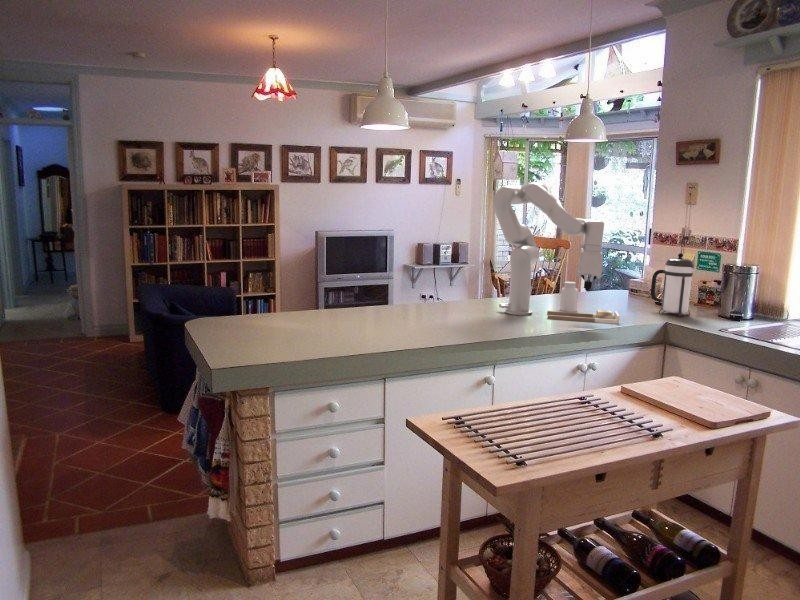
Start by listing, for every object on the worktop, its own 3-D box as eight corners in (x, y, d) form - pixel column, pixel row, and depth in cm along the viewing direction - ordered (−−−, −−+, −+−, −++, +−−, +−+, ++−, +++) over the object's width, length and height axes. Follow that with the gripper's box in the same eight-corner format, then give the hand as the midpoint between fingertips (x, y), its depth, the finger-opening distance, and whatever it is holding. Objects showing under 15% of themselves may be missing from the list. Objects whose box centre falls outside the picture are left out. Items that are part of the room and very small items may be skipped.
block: (597, 320, 279) (598, 311, 278) (596, 318, 284) (596, 309, 284) (611, 321, 277) (612, 312, 277) (610, 319, 283) (610, 310, 283)
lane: (547, 322, 280) (548, 310, 279) (546, 317, 291) (547, 306, 291) (618, 327, 274) (619, 315, 273) (615, 322, 285) (616, 311, 285)
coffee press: (684, 311, 318) (690, 252, 313) (695, 318, 303) (702, 255, 298) (648, 310, 320) (654, 250, 315) (657, 316, 304) (664, 253, 299)
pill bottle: (557, 313, 301) (559, 282, 299) (561, 311, 308) (564, 280, 306) (574, 315, 298) (577, 283, 295) (578, 313, 305) (580, 282, 302)
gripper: (575, 248, 275) (570, 289, 278) (611, 251, 272) (605, 293, 275) (574, 246, 282) (569, 287, 285) (609, 249, 279) (603, 290, 282)
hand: (587, 290), depth 280 cm, fingers closed
